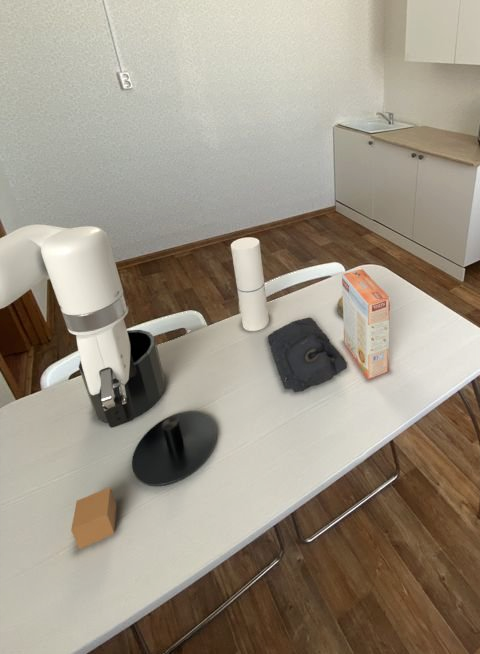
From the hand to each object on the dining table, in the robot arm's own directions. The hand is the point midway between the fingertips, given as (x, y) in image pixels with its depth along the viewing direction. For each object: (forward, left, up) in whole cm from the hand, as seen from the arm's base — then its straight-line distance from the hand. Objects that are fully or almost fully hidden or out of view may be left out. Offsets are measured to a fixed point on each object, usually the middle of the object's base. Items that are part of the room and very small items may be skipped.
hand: (124, 398), depth 62 cm
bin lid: (+3, +5, -18) cm, 19 cm away
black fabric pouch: (+27, +27, -19) cm, 43 cm away
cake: (+41, +43, -19) cm, 62 cm away
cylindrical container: (+13, +41, -19) cm, 47 cm away
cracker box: (+42, +24, -19) cm, 52 cm away
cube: (-5, -7, -19) cm, 21 cm away
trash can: (-11, +19, -19) cm, 29 cm away
